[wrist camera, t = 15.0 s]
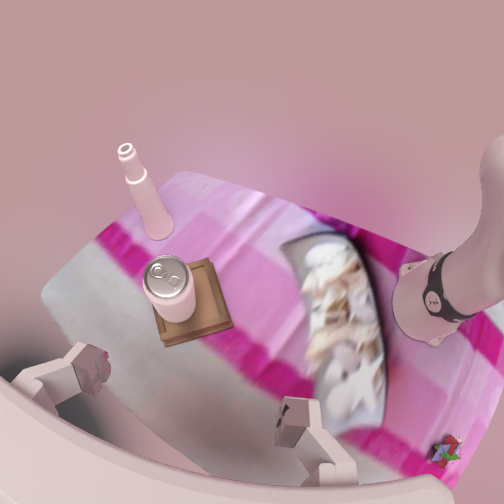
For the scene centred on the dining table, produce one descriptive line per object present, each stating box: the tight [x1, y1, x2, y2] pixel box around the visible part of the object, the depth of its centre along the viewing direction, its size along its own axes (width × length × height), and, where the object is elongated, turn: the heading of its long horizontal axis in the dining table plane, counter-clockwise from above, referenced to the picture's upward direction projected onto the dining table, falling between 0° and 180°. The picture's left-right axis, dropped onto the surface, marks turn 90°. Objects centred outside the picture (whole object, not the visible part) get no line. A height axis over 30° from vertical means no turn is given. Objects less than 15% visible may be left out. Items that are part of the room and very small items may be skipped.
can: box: [143, 255, 196, 323], centre depth 37 cm, size 6×6×12 cm
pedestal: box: [152, 258, 233, 347], centre depth 44 cm, size 12×12×5 cm
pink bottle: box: [118, 143, 174, 240], centre depth 43 cm, size 6×6×22 cm
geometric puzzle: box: [431, 434, 463, 470], centre depth 32 cm, size 7×7×8 cm
